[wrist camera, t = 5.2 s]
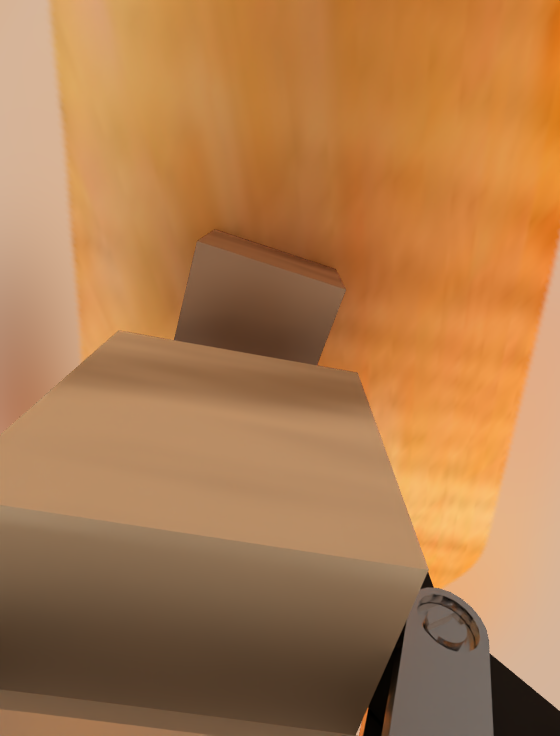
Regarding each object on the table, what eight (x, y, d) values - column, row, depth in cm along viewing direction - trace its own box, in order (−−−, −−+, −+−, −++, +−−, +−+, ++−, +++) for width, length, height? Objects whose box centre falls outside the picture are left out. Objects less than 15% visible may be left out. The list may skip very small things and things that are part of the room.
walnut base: (215, 229, 24) (197, 241, 19) (335, 268, 24) (346, 289, 20) (187, 343, 26) (165, 377, 22) (295, 375, 27) (297, 416, 22)
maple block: (118, 330, 11) (-69, 494, 5) (357, 372, 11) (428, 570, 5) (112, 517, 13) (-19, 768, 7) (308, 547, 13) (322, 808, 8)
